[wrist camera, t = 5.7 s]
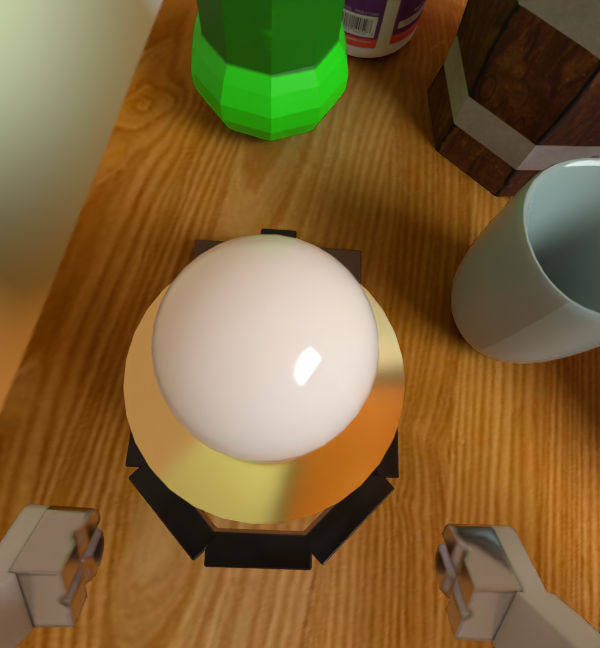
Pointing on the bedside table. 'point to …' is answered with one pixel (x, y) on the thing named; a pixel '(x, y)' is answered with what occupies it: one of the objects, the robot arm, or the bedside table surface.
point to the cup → (536, 271)
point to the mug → (519, 90)
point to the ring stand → (266, 544)
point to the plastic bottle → (270, 63)
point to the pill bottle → (379, 25)
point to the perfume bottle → (264, 381)
